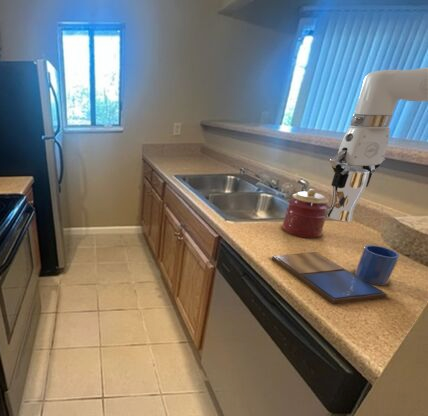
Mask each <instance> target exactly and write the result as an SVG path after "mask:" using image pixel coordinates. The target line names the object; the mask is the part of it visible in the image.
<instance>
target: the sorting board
mask: <svg viewBox="0 0 428 416" xmlns="http://www.w3.org/2000/svg"><path fill="white" fill-rule="evenodd" d="M271 260H272V261H274V263H276V264H278V265H279V266H280V267H282V268H283V269H284V270H285V271H287V272H288V273H290V274H291V275H293V276H294V277H295V278H297V279H298V280H299V281H301V282H302V283H304V284H305V285H306V286H307V287H309V288H310V289H312V290H313V291H314V292H316V293H317V294H318V295H320V296H321V297H322V298H324V299H325V300H326V301H328V302H329V303H330V304H332V305H334V304H342V303H350V302H351V303H353V302H358V301H359V302H360V301H367V300H376V299H384V298H387V296H388V293H386V292H385V291H383V290H381V289H380V288H378V287H376V285H375V286H374V284H371V283H368V282H366V281H364V280H363V279H361V278H359V277H358V276H356V275H355V273H352V272H351V271H349V270H347V269H346V268H344V267H342V266H340V265H338V264H337V263H335V262H334V261H332V260H330V259H329V258H327V257H325V256H324V255H322V254H321V253H318V252H317V251H314V252H313V251H310V252H302V253H290V254H279V255H272V257H271Z"/></svg>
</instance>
